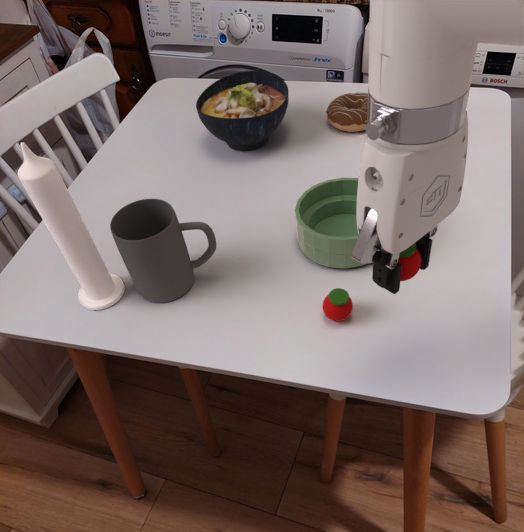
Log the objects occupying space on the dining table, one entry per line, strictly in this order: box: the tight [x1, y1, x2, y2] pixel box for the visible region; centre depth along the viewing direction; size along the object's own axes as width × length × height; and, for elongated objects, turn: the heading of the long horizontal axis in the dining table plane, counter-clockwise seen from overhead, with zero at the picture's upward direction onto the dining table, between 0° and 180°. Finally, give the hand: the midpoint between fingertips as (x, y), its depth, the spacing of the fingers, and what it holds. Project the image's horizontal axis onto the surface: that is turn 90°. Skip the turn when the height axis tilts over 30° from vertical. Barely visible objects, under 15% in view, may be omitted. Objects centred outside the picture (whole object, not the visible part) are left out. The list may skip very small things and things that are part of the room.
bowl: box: [195, 70, 290, 152], centre depth 96 cm, size 17×17×10 cm
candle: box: [17, 142, 126, 311], centre depth 68 cm, size 7×7×25 cm
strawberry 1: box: [322, 287, 354, 322], centre depth 68 cm, size 4×4×4 cm
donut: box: [325, 91, 368, 133], centre depth 97 cm, size 11×11×4 cm
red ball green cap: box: [386, 243, 421, 282], centre depth 53 cm, size 4×4×4 cm
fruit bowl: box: [294, 177, 386, 269], centre depth 77 cm, size 14×14×6 cm
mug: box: [109, 198, 217, 304], centre depth 73 cm, size 14×9×12 cm
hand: (400, 273), depth 55 cm, fingers closed on red ball green cap, 3 cm apart
